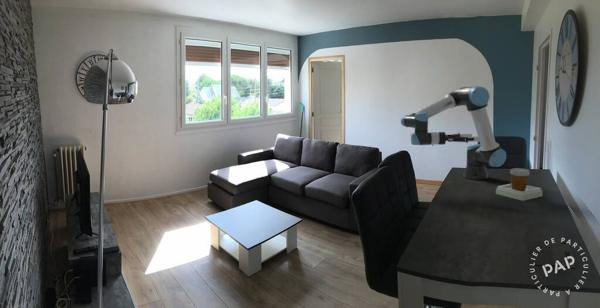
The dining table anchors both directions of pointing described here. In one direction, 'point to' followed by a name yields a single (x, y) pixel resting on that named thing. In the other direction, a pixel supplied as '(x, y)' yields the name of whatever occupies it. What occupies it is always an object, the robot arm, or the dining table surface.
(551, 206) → the dining table surface
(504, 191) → the square rimmed tray
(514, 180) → the disposable coffee cup
